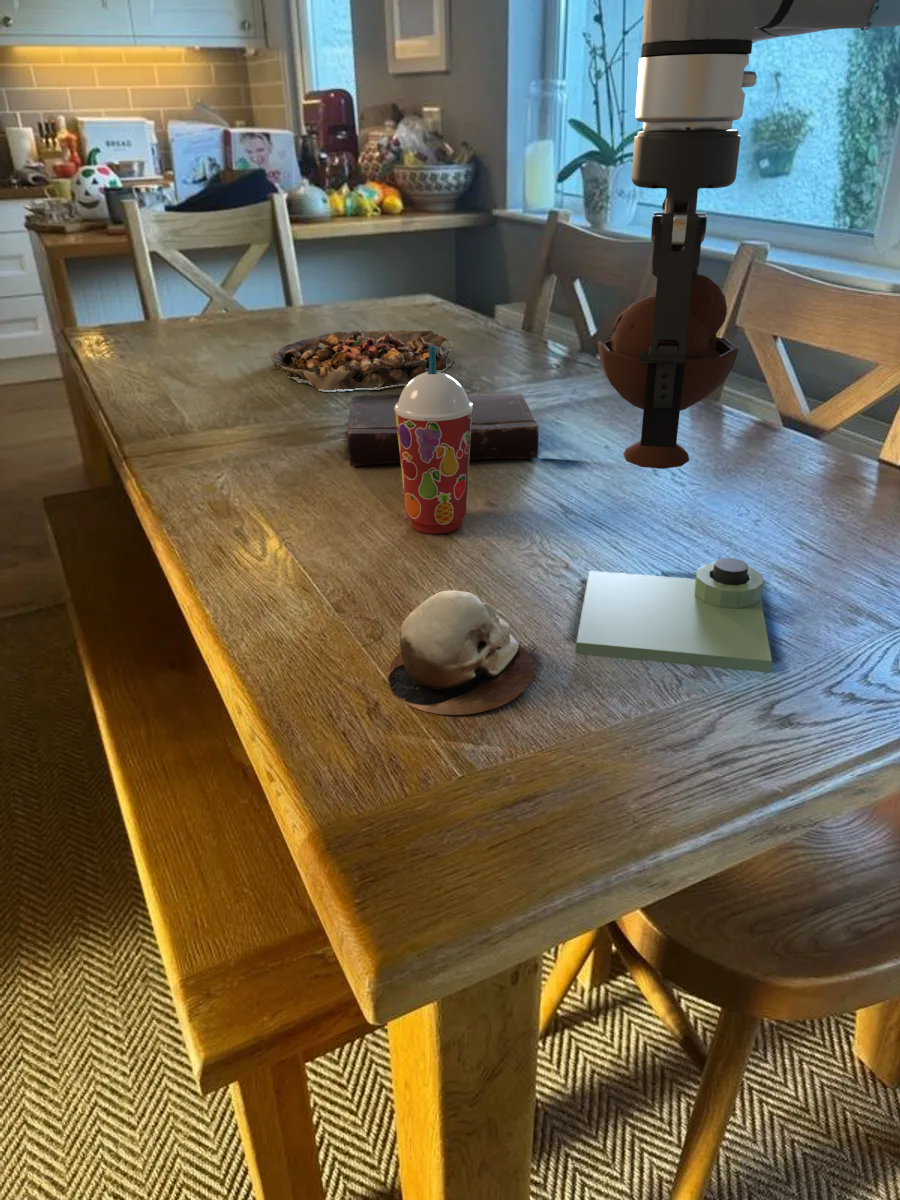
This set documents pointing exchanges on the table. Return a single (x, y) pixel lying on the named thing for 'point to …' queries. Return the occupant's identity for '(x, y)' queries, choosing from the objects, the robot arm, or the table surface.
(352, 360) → the food dish
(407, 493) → the smoothie
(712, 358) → the ice cream bowl
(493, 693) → the skull
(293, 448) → the table surface
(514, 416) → the diary
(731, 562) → the button
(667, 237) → the robot arm
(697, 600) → the scale
